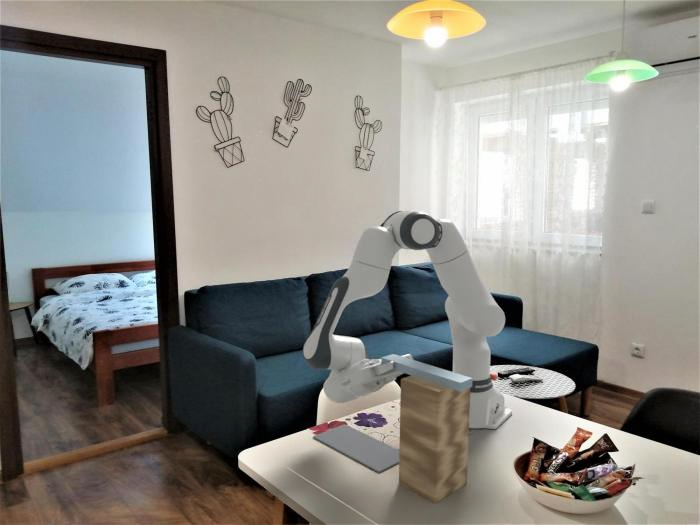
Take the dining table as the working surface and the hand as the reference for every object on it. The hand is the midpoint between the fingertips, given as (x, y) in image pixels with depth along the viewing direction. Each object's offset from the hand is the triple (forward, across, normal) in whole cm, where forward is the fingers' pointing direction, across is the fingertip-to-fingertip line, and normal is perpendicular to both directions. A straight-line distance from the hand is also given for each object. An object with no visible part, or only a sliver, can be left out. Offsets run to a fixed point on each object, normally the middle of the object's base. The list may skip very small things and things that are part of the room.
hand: (401, 362), depth 133 cm
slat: (+6, 0, +5) cm, 7 cm away
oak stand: (-4, 0, +29) cm, 30 cm away
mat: (-26, 0, +17) cm, 31 cm away
